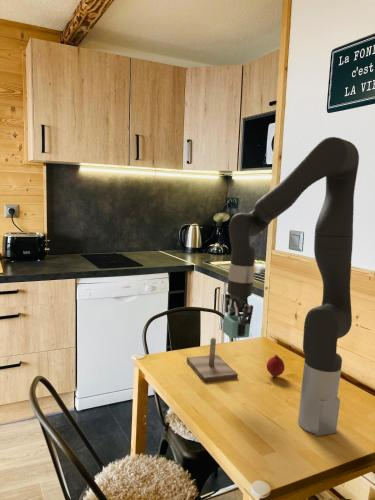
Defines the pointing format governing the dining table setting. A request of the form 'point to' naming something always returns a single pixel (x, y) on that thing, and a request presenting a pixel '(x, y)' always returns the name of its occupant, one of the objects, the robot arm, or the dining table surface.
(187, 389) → the dining table surface
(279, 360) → the onion
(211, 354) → the stand
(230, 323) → the bead
